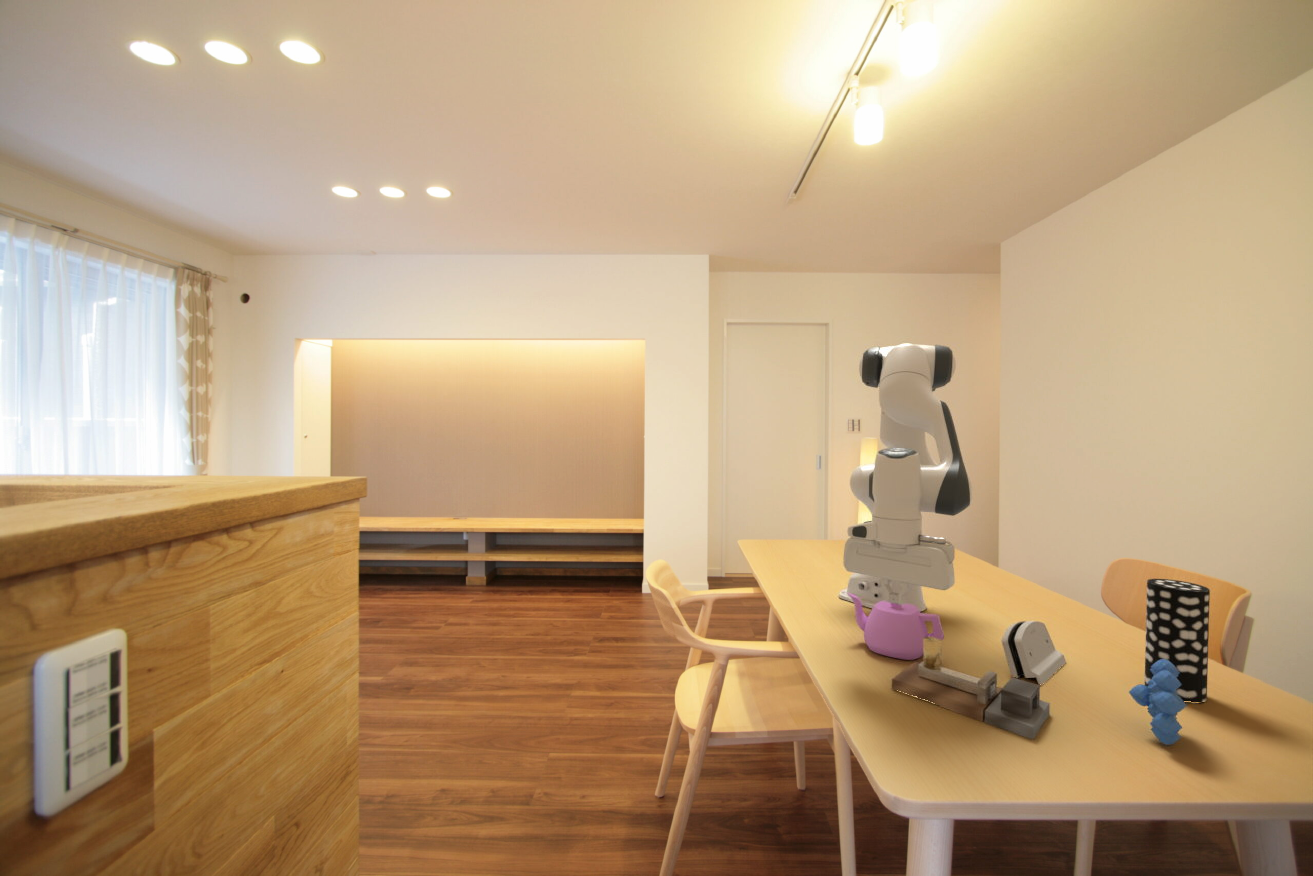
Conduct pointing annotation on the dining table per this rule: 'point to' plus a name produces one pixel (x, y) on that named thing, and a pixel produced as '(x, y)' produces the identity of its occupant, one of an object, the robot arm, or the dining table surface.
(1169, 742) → the grapes
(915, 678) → the door board
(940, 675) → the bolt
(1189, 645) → the white-spotted black cylinder
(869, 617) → the teapot
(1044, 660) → the light grey rounded piece
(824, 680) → the dining table surface
